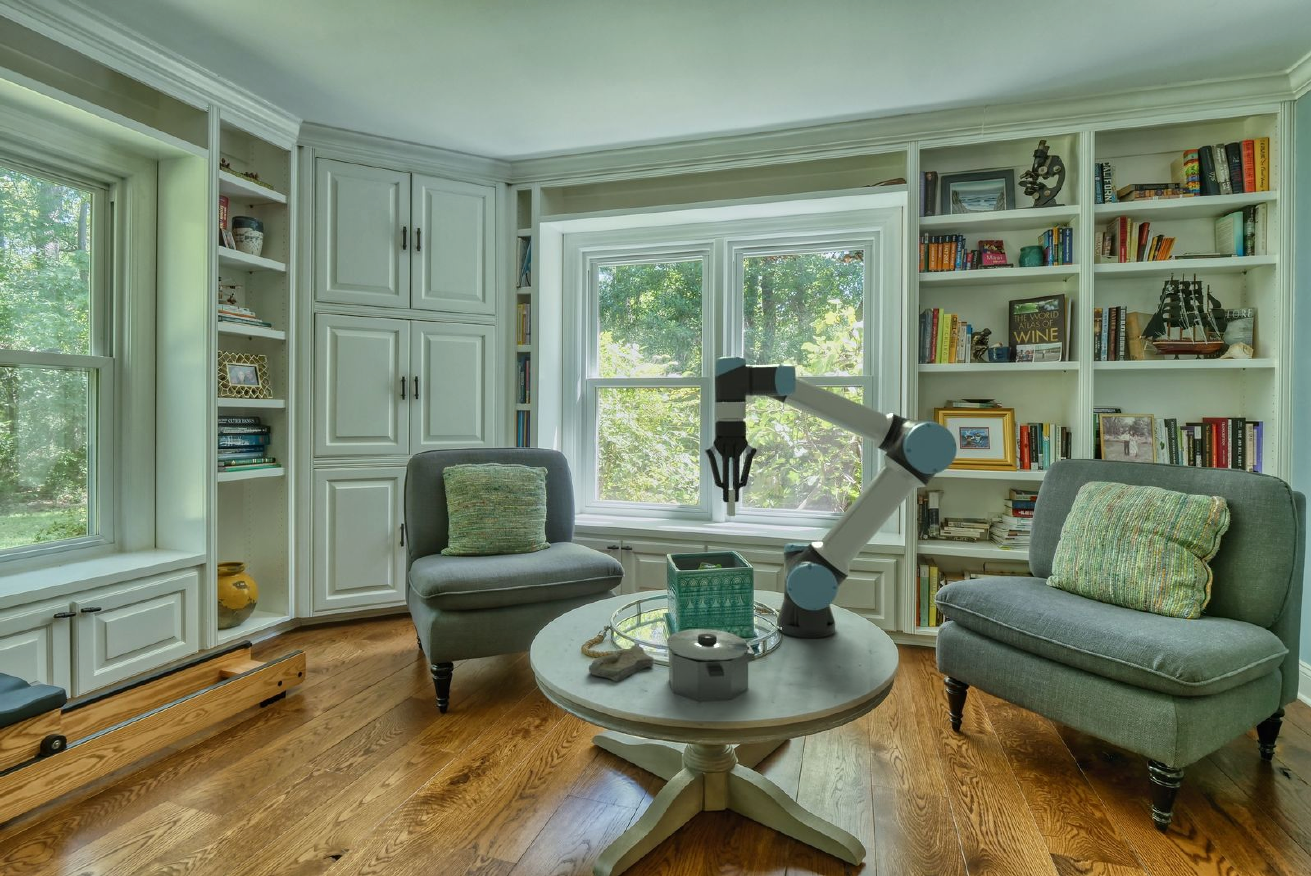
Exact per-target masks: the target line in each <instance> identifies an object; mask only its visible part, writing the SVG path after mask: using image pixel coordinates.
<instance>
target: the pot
mask: <svg viewBox="0 0 1311 876" xmlns="http://www.w3.org/2000/svg"><path fill="white" fill-rule="evenodd" d="M748 646H749V650H747V652H746V653H745V654H744V655H742V656H740V657H738V658H735V659H731V660H724V661H703V660H696V659H690V658H686V657H683V656H680V655H678V654H676V653H674V652H672V651H671V650H670V649H669V648H668V680H669V681H668V682H669V684H670V688H671V692H672V693H673V694H676V695H679V696H682V697H686V698H688V699H691V700H693V701H697V702H711V701H729V700H730V701H731V700H732V699H734V698H736V697H738V696H739V695H741V694H742V693H744V692H746V691H747V690H749V662H750V661H751V662H752V661H755V659H756V657H755V656H756V654H755V651H754V650H753V648H752V647H751V645H750V644H748Z"/></svg>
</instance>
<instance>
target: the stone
mask: <svg viewBox="0 0 1311 876" xmlns="http://www.w3.org/2000/svg"><path fill="white" fill-rule="evenodd" d="M652 667H654V657H653V656H650V655H648V654H647V653H646V652H645V651H644V648H643V647H642V646H640V645H636V644H634V645H632V646H631V647H630V648H629V649H624V648H623V649H620V650H616V651H614V652H613V653H612V654H609V655H605V656H599V657H597V658H596V659H594V660H593V661H592V662H591V664H590V665H588V671H589V673H591V675H593V676H597V677H603V678H606V679H610V680H612V681H613V682H621V681H623V680H624V679H626V678H627V677H628V676H630V675H633V674H635V673H636V672H637V671H640V670H641V671H642V670H644V669H645V668H652Z"/></svg>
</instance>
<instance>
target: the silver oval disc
mask: <svg viewBox="0 0 1311 876" xmlns="http://www.w3.org/2000/svg"><path fill="white" fill-rule="evenodd" d="M666 645H667V648H668V650H669V649H670V650H671V651H672V652H674V653H676V654H678V655H680V656H683V657H686V658H690V659H696V660H703V661H724V660H731V659H735V658H738V657H740V656H742V655H744V654H745V653H746V652H747V650H749V646H748V645H749V644H748V643H747V641H746V640H745V638H742V637H741V636H739V635H736V634H734V633H730V632H727V631H724V630H723V631H722V630H718V629H708V628H707V629H706V628H705V629H704V628H695V629H692V628H691V629H685V630H680V631H677V632H674V633H672V634H671V635H669V636H668V637H667V641H666Z"/></svg>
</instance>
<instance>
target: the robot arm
mask: <svg viewBox="0 0 1311 876" xmlns="http://www.w3.org/2000/svg"><path fill="white" fill-rule="evenodd" d="M714 370H715V372H714V373H715V375H714V390H715V392H714V393H715V394H714V395H715V399H714V400H715V413H714V414H715V417H714V418H715V419H716V422H715V425H714V426H715V430H714V432H715V437H714V441H713V444H712V445H711V446H709V447H708V448H707V447H706V448H705V449H704V453H705V454H706V456H707V457H708V459H709V463H710V469H711V472H712V476H713V479H714V484H715V486H716V487H718V488H721V489H722V501H723V502H724V503H726V515H727V516H728V517H735V516H736V503H739V501H740V489H741V488H745V487H746V486H747V484H748V480H749V476H750V472H751V467H752V462H753V458H754V456H756V454H757V451H758V449H757V448H756V447H752V446H751V445H750V444H749V441H748V439H747V422H746V421H745V419H747V405H746V404H747V399H746V398H747V396H748V397H752V396H754V397H755V396H759V397H760V396H763V397H764V396H765V397H767V398H771V399H773V400H775V401H778V402H781V403H783V404H785V405H788V406H789V407H792V408H795V409H797V410H799V411H801V412H803V413H806V414H808V415H811V416H813V417H816V418H818V419H820V420H823V421H825V422H827V423H829V424H832V425H833V426H835V427H838V428H841V429H843V430H845V431H848V432H850V433H852V434H855V435H856V436H859V437H861V438H863V439H866V440H869V441H871V442H872V443H873V445H874V447H875V448H876V449H879V450H881V451H883V452H885V454H884V455H883V461H884V465H883V466H882V468H880V470H879V471H878V472H877V474H876V475H875V476H874V477H873V479H872V480H871V481H870V482H869V483H868V484H867V486H865V488H864V489H863V490H862V492H861V493H860V494H859V495H858V496H857V497H856V499H854V501H853V502H852V503H851V504H850V506H849V507H848V508H847V509H846V510H845V512H844V513H843V514H842V515H841V516H840V517H839V519H838V520H837V521H836V523H835V524H833V525H832V527H831V528H830V529H829V530H828V532H827V533H826V534H825V535H824V536H823V538H822V539H820V540H819V541H811V542H788V543H786V544H785V545H784V549H783V553H782V554H783V601H782V602H781V606H780V609H779V612H778V616H777V617H776V618H777V619H776V627H777V626H779V627H782V630H781V631H780V633H783V634H785V635H787V636H792V637H795V638H800V639H801V638H802V639H821V638H822V639H823V638H827V637H831V636H833V635H834V634H835V633H836V620H835V616H834V613H833V610H832V608H831V604H832V603H833V602H834V600H835V599H836V596H837V594H838V591H839V590H838V589H839V587H840V586H841V585H842V584H843V583H844V581H845V580H846V579H847V578H848V577H849V576H850V572H851V571H850V564H851V563H852V562H853V560H854V559H855V558H856V557H857V556H858V555H859V554H860V552H861V551H862V550H863V549H864V548H865V547H866V545H867V544H868V543H870V541H871V540H872V539H873V537H875V535H876V534H877V533H878V531H880V529H881V528H882V527H883V526H884V524H886V522H887V521H888V520H889V519H890V518H891V516H893V514H894V513H895V512H896V510H897V509H898V508H899V507H900V506H901V505H902V503H903V502H904V501H905V500H906V499H907V498H908V496H909V495H911V493H912V492H913V491H914V490H915V489H918V488H926V486H927V485H928V484H929V483H930V482H931V480H932V479H933V478H934V477H935V475H936V474H939V473H942V472H943V471H945V470H946V469H948V468H949V467H950V466H951V465H952V464H953V463H954V461H955V458H956V456H957V449H958V448H957V441H956V439H955V437H954V435H953V434H952V432H951V431H950V430H949V429H948V428H947V427H946V426H944V425H942V424H941V423H938V422H936V421H932V420H916V419H911V418H906V417H903V416H899V415H897V414H895V413H893V412H892V413H891V412H890V413H889V414H884V413H882V412H880V411H877V410H875V409H873V408H870V407H868V406H865V405H863V404H861V403H859V402H856V401H854V400H851V399H849V398H847V397H844V396H842V395H840V394H837V393H835V392H833V391H830V390H828V389H825V388H824V387H821V386H819V385H816V384H814V383H812V382H809V381H806V380H805V379H801V378H800V377H797V376H796V375H797V374H796V367H795V365H793V364H784V363H779V364H757V365H755V364H754V365H752V364H747V360H746V358H745V357H743V356H724V357H718V358H717V359H716V361H715V369H714ZM716 451H717V452H718V453H719V455H720V457H721V461H722V463H721V464H722V465H721V467H722V470H721V475H720V471H719V467H718V463H717V458H716V456H715V455H716ZM744 452H745V453H746V455H745V458H744V462H743V466H742V471H741V474H740V461H741V456H742V455H743V453H744ZM730 459H731V463H732V464H731V465H732V466H731V467H732V472H731V473H732V474H731V475H732V487H731V488H730ZM721 476H722V477H721Z"/></svg>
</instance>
